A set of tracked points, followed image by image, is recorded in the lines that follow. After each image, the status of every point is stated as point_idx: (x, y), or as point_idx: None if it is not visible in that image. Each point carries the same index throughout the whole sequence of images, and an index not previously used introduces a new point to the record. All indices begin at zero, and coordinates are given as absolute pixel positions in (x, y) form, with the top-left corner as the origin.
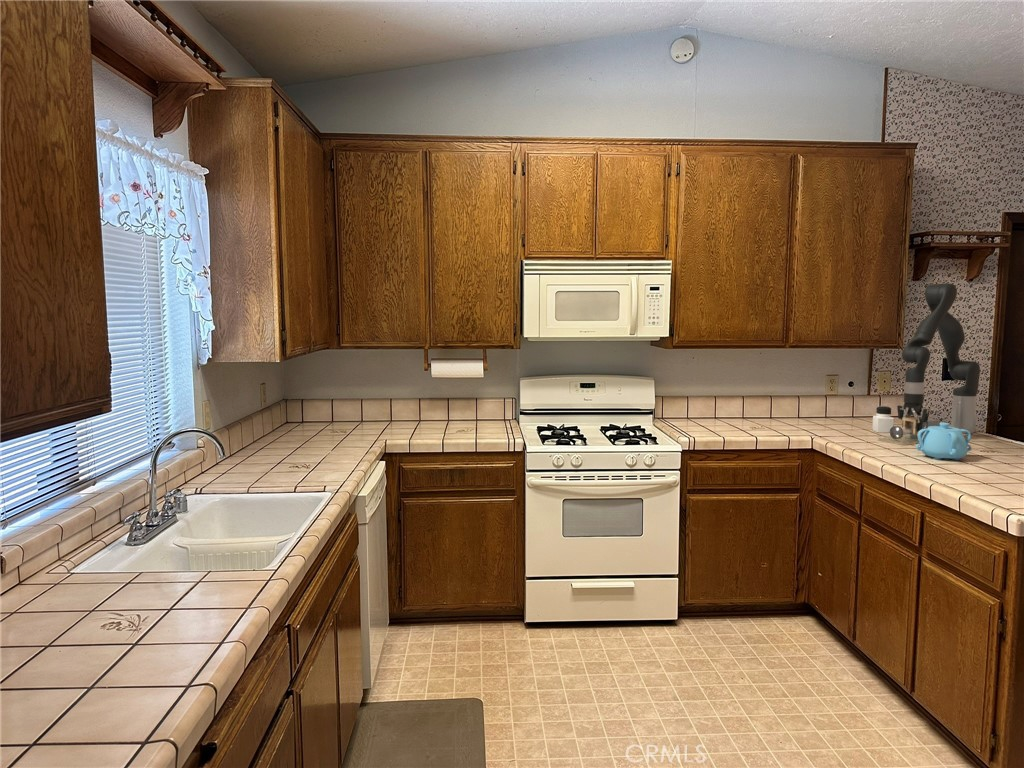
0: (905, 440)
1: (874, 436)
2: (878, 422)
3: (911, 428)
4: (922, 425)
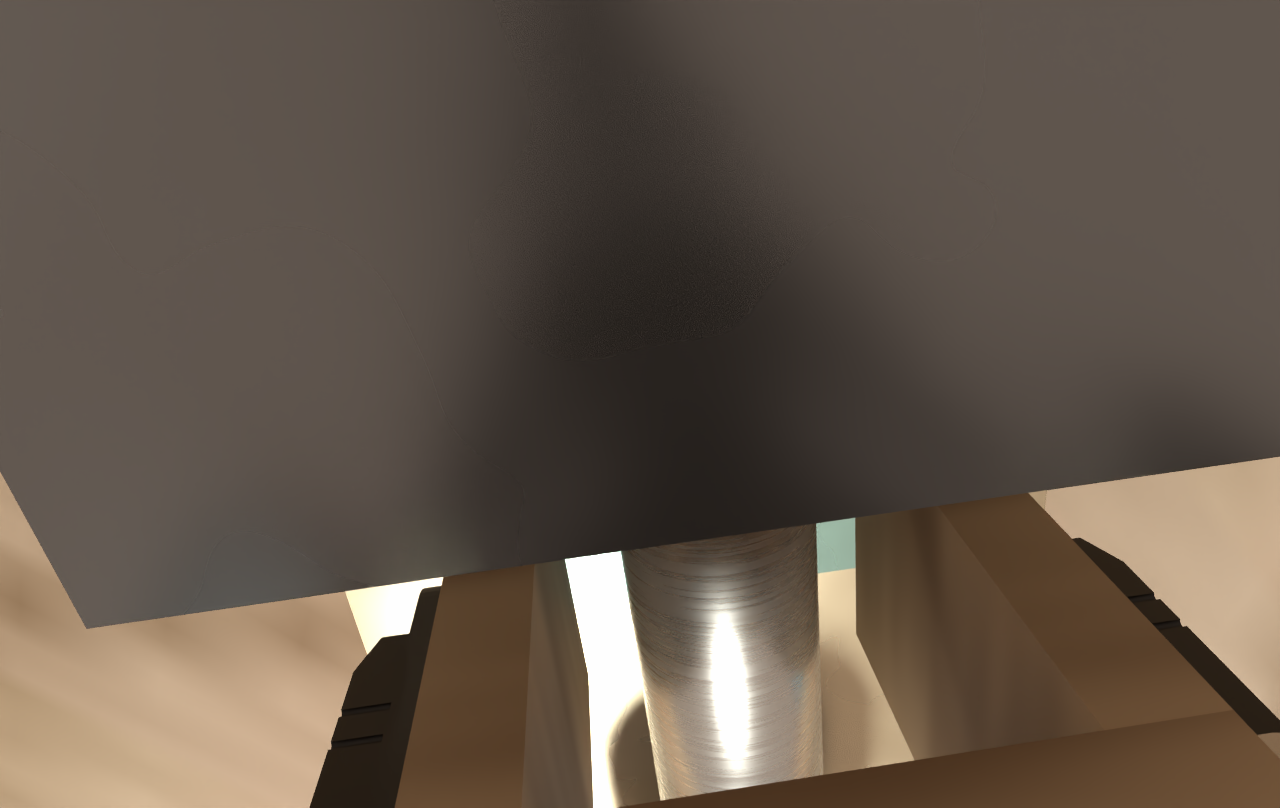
0: (871, 764)
1: (24, 768)
2: None
3: (759, 691)
4: (1233, 676)
